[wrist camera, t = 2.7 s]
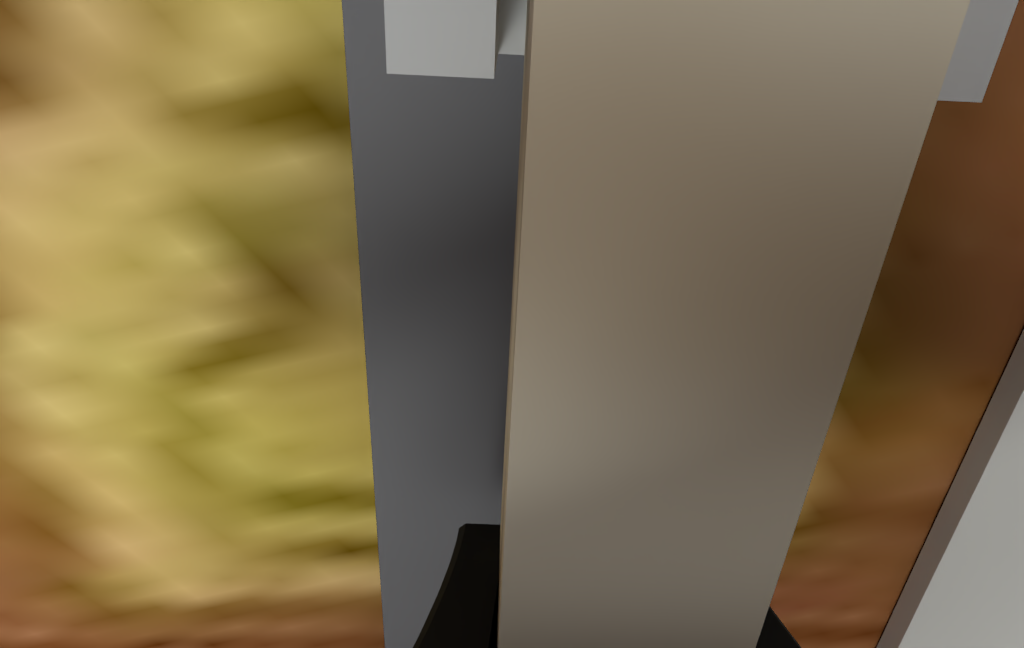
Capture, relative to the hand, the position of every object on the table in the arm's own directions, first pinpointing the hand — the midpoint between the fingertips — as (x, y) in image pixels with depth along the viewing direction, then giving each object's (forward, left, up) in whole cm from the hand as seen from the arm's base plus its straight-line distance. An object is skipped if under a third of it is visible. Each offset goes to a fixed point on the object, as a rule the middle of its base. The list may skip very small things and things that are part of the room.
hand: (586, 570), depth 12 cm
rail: (0, 0, 0) cm, 0 cm away
